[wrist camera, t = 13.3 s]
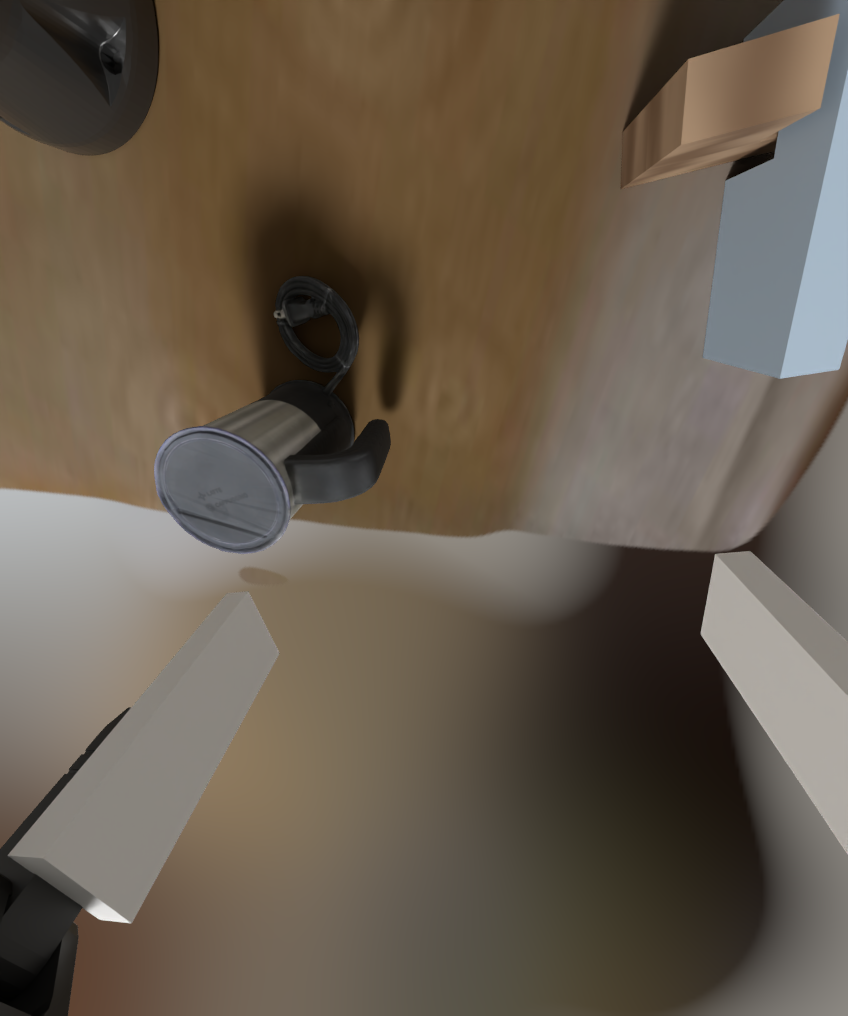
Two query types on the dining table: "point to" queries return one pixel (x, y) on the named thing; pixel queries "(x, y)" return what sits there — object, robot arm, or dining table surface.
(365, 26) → the dining table surface
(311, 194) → the dining table surface
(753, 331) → the pale blue flat block
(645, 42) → the dining table surface
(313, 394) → the milk frother
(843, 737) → the robot arm
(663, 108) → the light brown wooden block
